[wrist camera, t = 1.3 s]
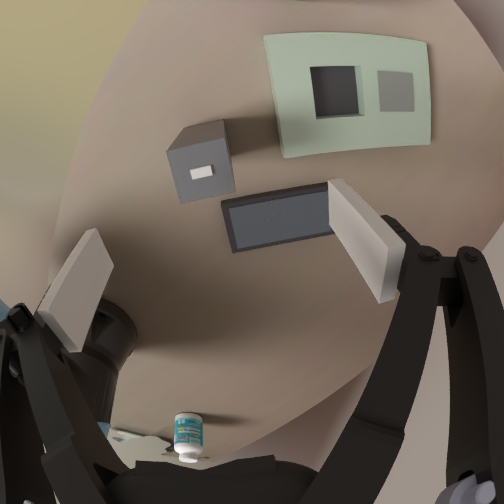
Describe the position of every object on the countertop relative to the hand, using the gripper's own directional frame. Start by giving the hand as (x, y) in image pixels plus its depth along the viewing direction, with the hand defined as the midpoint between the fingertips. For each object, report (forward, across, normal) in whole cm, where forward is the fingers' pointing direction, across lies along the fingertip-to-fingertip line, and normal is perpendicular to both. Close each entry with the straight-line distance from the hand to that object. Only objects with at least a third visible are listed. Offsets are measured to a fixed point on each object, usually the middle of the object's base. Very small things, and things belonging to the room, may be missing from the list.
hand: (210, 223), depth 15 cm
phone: (+19, +6, -10) cm, 22 cm away
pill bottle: (+19, -23, -65) cm, 71 cm away
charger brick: (+19, -1, +1) cm, 19 cm away
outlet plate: (+19, +17, +5) cm, 26 cm away
